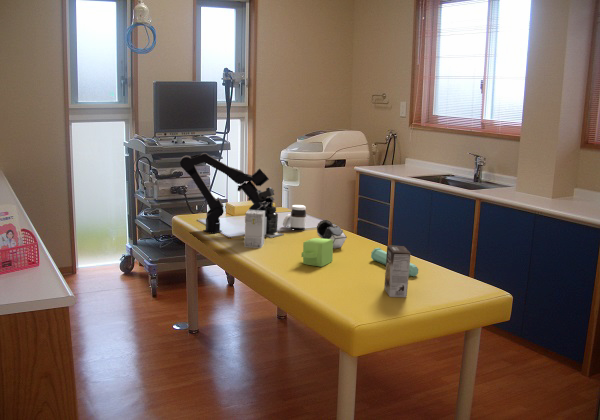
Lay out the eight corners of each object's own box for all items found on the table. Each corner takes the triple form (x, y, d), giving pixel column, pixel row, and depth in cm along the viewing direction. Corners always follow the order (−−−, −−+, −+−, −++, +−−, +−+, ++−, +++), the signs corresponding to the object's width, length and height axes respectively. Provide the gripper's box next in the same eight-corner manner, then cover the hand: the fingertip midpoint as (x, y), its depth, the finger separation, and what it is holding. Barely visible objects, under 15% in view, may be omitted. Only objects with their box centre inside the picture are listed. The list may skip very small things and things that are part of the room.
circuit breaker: (266, 240, 285) (267, 208, 282) (261, 248, 271) (262, 214, 268) (250, 239, 285) (251, 206, 282) (244, 246, 271) (245, 213, 269)
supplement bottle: (279, 231, 297) (280, 206, 295) (273, 234, 291) (275, 209, 288) (265, 229, 299) (266, 205, 297) (260, 232, 293) (261, 207, 290)
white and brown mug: (305, 231, 305) (306, 208, 302) (282, 230, 305) (283, 207, 302) (305, 226, 316) (306, 203, 314) (283, 225, 316) (284, 202, 314)
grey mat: (256, 234, 295) (256, 233, 295) (269, 231, 301) (269, 230, 301) (270, 238, 289) (270, 237, 289) (283, 235, 296) (283, 234, 296)
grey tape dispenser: (310, 237, 295) (311, 216, 293) (331, 237, 297) (332, 216, 295) (326, 251, 271) (327, 229, 269) (348, 251, 273) (349, 228, 271)
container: (419, 262, 239) (380, 245, 260) (407, 269, 237) (369, 251, 258) (422, 275, 241) (383, 257, 262) (411, 282, 239) (372, 263, 260)
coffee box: (383, 288, 224) (386, 245, 221) (401, 288, 224) (404, 245, 221) (389, 297, 215) (392, 251, 212) (407, 297, 216) (411, 252, 212)
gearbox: (315, 256, 264) (315, 234, 262) (336, 259, 259) (337, 237, 258) (295, 265, 248) (296, 242, 246) (318, 268, 243) (318, 245, 242)
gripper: (256, 184, 283) (278, 211, 282) (271, 179, 300) (291, 204, 299) (239, 199, 287) (261, 226, 286) (255, 194, 304) (275, 218, 303)
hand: (273, 218), depth 293 cm, fingers closed on supplement bottle, 7 cm apart
